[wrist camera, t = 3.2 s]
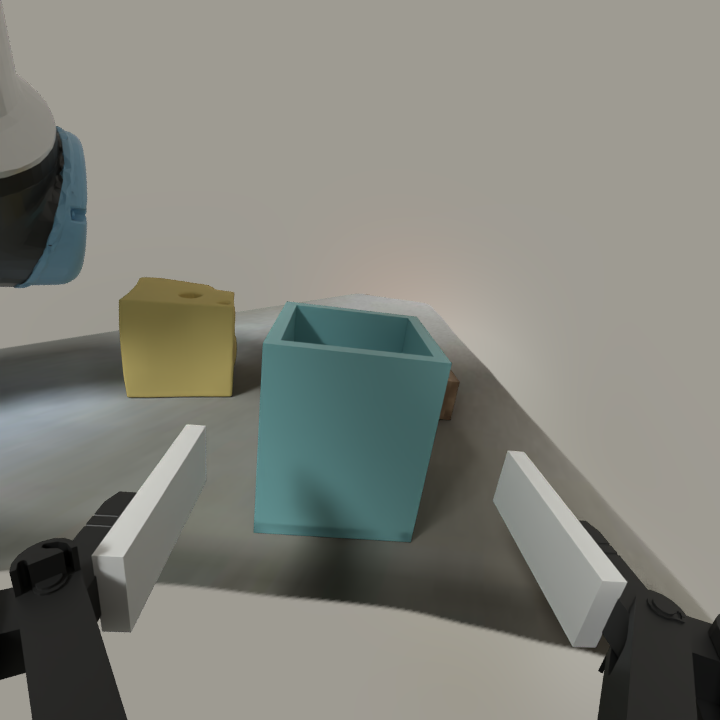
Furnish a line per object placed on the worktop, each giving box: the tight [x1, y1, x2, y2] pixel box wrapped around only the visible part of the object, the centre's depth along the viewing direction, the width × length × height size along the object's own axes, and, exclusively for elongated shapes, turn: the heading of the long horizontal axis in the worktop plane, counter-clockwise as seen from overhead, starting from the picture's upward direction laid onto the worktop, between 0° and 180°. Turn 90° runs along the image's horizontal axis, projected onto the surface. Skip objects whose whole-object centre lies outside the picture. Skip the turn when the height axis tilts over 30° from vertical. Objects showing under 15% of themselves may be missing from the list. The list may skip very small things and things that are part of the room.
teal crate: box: [254, 302, 452, 542], centre depth 27 cm, size 10×10×12 cm
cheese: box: [119, 277, 237, 397], centre depth 41 cm, size 10×11×10 cm
